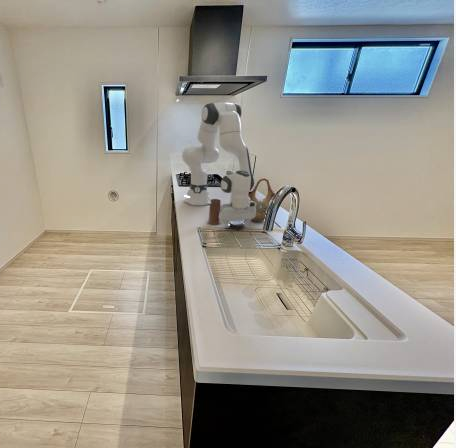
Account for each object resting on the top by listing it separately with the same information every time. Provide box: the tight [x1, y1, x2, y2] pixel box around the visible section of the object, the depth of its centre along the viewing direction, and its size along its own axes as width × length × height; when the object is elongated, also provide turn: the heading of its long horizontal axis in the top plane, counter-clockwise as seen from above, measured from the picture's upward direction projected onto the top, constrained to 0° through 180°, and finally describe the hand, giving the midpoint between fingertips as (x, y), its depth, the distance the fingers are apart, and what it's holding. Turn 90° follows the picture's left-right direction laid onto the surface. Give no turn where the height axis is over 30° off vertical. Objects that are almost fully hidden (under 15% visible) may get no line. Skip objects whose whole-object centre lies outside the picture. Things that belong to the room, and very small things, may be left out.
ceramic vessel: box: [248, 177, 276, 223], centre depth 135 cm, size 16×9×25 cm, turn 87°
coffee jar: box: [207, 198, 222, 226], centre depth 135 cm, size 6×6×13 cm
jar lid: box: [229, 220, 243, 231], centre depth 130 cm, size 7×6×3 cm
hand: (235, 227), depth 130 cm, fingers open, 8 cm apart
